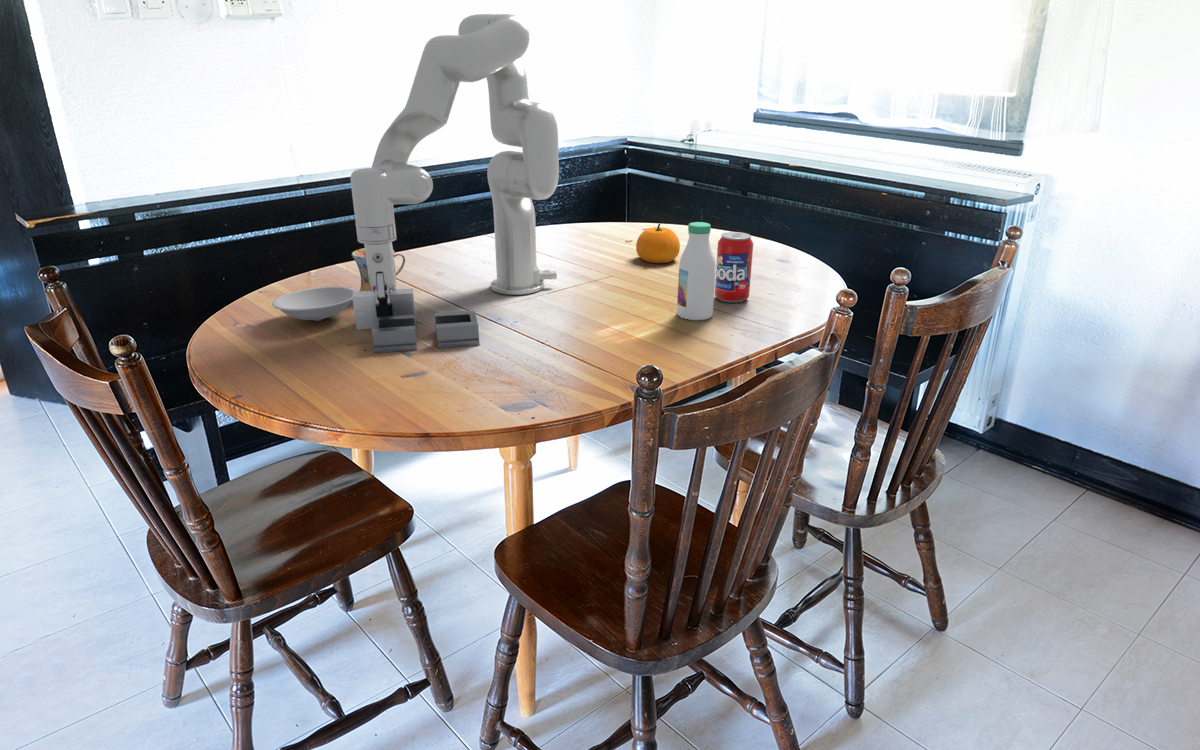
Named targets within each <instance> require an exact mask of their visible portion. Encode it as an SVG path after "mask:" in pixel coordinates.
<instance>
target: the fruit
mask: <svg viewBox="0 0 1200 750" xmlns="http://www.w3.org/2000/svg"><path fill="white" fill-rule="evenodd" d="M680 243H681V242H680V240H679V237H678V235H677V234H676V233H675V232H674V231H673V230H672V229H670V228H667V227H664V226H663V227H662V226H661V223H658V224H657V226H654V227H653V226H652V227H649V228H646V229H645V230H643V231H642V232H641V233H640V234H639V236H638V238H637V240H636V244H635V250H636V254H637V256H638V257H639V258H640V259H641V260H643V261H645V262H647V263H651V264H667V263H669V262H672V261H674V260H675V259H676V258H677V257H678V256H679V253H680V250H681V249H680V247H681V245H680Z"/></svg>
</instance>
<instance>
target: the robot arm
mask: <svg viewBox="0 0 1200 750" xmlns="http://www.w3.org/2000/svg"><path fill="white" fill-rule="evenodd" d="M457 32H458V34H457V35H454V34H453V35H450V34H449V35H448V34H446V35H437V36H434V37H432V38H430V39H429V40H428V41H427V42H426V44H425V45H424V49H423V51H422V53H421V57H420V60H419V64H418V66H417V70H416V72H415V75H414V80H413V83H412V85H411V88H410V91H409V95H408V99H407V101H406V103H405V106H404V108H403V109H402V111H401V112H400V113H399V114H398V115H397V116H396V118H395V119H394V120H393V121H392V123H391V124H390V125H389V127H388V128H387V129H386V130H385V132H384V133H383V135H382V137H381V139H380V140H379V143H378V146H377V148H376V151H375V154H374V157H373V161H372V165H371V167H365V168H364V167H363V168H359V169H358V168H357V169H355V170H354V171H353V172H351V175H350V186H351V187H350V188H351V195H352V205H353V211H354V219H355V220H354V221H355V228H356V236H357V237H356V238H357V242H358V243H359V244H363V246H364V248H365V254H366V262H367V269H368V275H369V281H370V287H371V291H373V292H375V295H376V313H377V317H386V316H393V310H392V304H390V294H389V290H393V291H395V290H396V289H397V276H396V263H395V257H394V255H395V253H394V254H393V250H394V247H393V242H394V241H397V230H396V221H395V212H394V211H395V210H394V205H415V204H421V203H423V202H425V201H426V200H427V199H429V197H430V196H431V194H432V192H433V189H434V182H433V179H432V177H431V175H430V174H429V172H428V171H426V170H425V169H424V168H422V167H421V166H418V165H413V164H408V161H409V157H410V156H411V154H412V152H413V150H414V149H415V147H416V146H417V145H418V144H419V142H421V141H422V140H423V139H425V138H426V137H428V136H430V135H432V134H433V133H435V132H437V131H438V130H440V129H442V128H443V127H444V126H445V125H446V124H447V123H448V120H449V117H450V113H451V110H452V108H453V105H454V101H455V98H456V95H457V92H458V89H459V86H460V83H461V82H462V83H463V82H464V83H474V82H475V83H476V82H479V81H481V80H483V79H486V82H487V89H488V90H487V91H488V101H489V104H488V105H489V116H490V117H489V119H490V128H491V129H490V130H491V135H492V136H493V138H494V140H496V142H498V143H500V144H502V145H503V144H504V145H506V146H512V147H518V148H522V149H521V150H522V151H515V150H504V151H500V152H498V153H496V154H494V156H492V158H491V159H490V160H489V163H488V165H487V170H486V171H487V175H486V176H487V177H486V178H487V183H488V186H489V190H490V194H491V200H492V209H493V225H494V227H493V229H494V246H495V263H496V264H495V265H496V267H495V268H496V278H495V279H493V280H492V281H491V282H490V289H491V290H492V291H493V292H495V293H498V294H501V295H510V296H511V295H512V296H517V295H518V296H521V295H530V294H535V293H536V292H537V293H538V292H539V291H541V290H542V289H543V288H544V280H557V279H558V278H557V277H558V274H557V271H556V270H554V271H551V270H550V269H544V270H543V269H542V270H541V269H539V267H538V266H537V236H536V235H537V234H536V229H537V228H536V211H535V206H534V203H533V200H536V201H542V200H546V199H548V198H550V197H551V196H552V195H554V194H555V191H556V190H557V187H558V183H559V177H560V159H559V158H560V157H559V154H560V153H559V132H558V125H557V120H556V118H555V115H554V113H553V112H552V110H551V109H550V108H549V107H548V106H546V105H544V103H543V104H542V103H540V102H533V101H530V99H529V90H528V89H529V88H528V80H527V79H528V78H527V74H526V72H527V71H526V69H525V67H524V63H523V62H522V60H521V58H522V57H523V56H524V54H525V53H526V52H527V49H528V47H529V43H530V32H529V29H528V26H527V24H526V23H525V22H524V20H522V19H521V18H520V16H516V15H514V14H508V13H501V14H500V13H496V14H495V13H494V14H492V13H486V14H485V13H481V14H473V15H469V16H466V17H464V18H463V19H462V21H460V23H459V25H458V31H457ZM385 293H387V295H385Z"/></svg>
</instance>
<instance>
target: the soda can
mask: <svg viewBox="0 0 1200 750" xmlns="http://www.w3.org/2000/svg"><path fill="white" fill-rule="evenodd" d="M720 235H721V237H720V238H719V240H718V241H717V250H716V251H717V253H716V263H715V286H714V298H717V299H718V300H719V301H721V302H723V301H724V302H723V303H727V302H728V303H729V304H738V302H739V303H742V302H744V301H746V300H747V299H748V298H749V296H750V290H751V278H752V266H753V253H754V241H753V240H752V239H751V238H752V235H751V234H750V233H748V232H747V233H746V232H741V231H740V232H739V231H728V232H723V233H721V234H720ZM728 303H727V304H728Z"/></svg>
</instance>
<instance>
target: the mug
mask: <svg viewBox="0 0 1200 750" xmlns="http://www.w3.org/2000/svg"><path fill="white" fill-rule="evenodd" d="M393 254H394V258H396V257H398V256H400V257H402V262H401V266H400V267H399V269H398V271H397V270H396V271H395V273H396V277H397V276H398V275H399V274H400V273H401V272H402V270H403V269H404V267H405V263H406V258H405V255H403V254H402V253H396V252H395V250H394V249H393ZM351 256H352V258H353V260H354V262H355V263H356V265H357V267H358V272H359V276H360V289H359V292H361V291H371V287H370V281H369V275H368V269H367V262H366V254H365V247H364V248H359V249H356V250H354V251H352V252H351Z"/></svg>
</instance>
